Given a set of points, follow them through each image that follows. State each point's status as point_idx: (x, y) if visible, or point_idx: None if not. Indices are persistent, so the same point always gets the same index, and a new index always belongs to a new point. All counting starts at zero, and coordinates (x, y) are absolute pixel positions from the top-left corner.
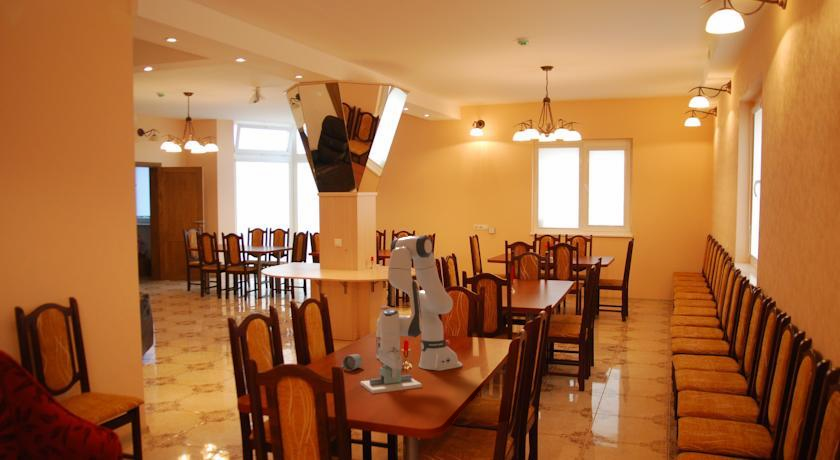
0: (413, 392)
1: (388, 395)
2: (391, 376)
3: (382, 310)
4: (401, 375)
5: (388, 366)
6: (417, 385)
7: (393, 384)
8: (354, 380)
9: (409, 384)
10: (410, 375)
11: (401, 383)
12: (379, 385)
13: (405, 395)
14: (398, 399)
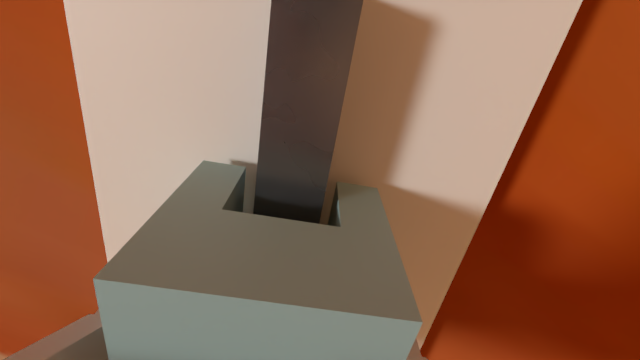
0: (615, 176)
1: (496, 349)
2: None
3: None
4: (270, 139)
5: (59, 354)
6: (556, 37)
7: None
8: (12, 346)
9: (480, 128)
10: (357, 3)
11: (380, 179)
12: None
13: (607, 271)
14: (624, 346)
